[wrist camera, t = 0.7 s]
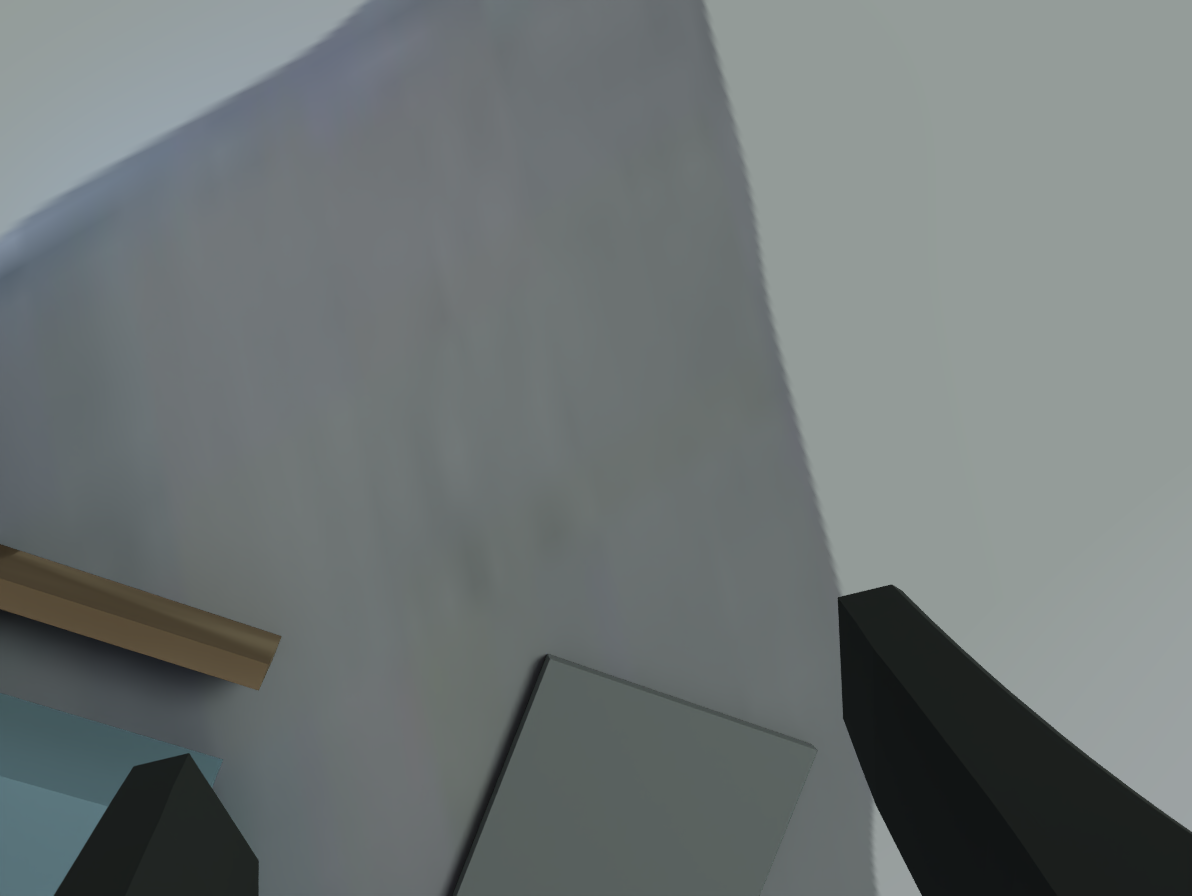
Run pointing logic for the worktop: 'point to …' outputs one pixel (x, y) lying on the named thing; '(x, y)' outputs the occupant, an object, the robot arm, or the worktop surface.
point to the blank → (62, 788)
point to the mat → (633, 796)
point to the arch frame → (134, 619)
